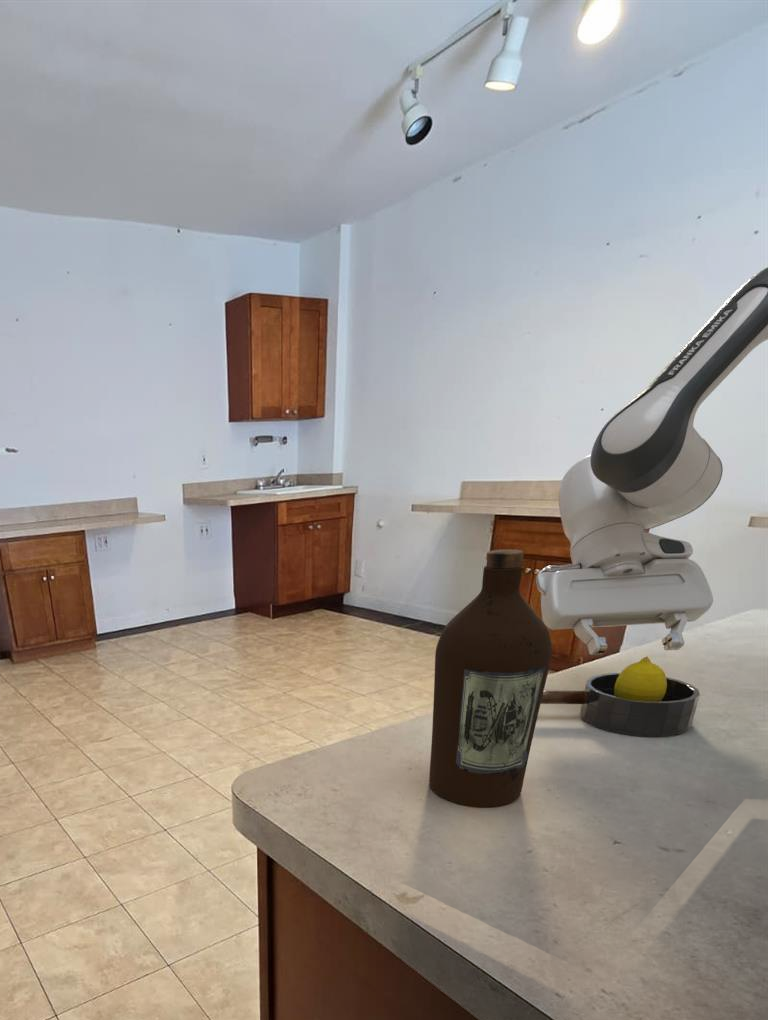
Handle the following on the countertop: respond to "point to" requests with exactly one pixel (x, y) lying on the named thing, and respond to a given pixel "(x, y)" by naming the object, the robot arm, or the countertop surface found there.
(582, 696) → the pan handle
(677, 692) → the pan
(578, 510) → the robot arm
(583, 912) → the countertop surface
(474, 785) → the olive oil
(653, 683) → the fruit
